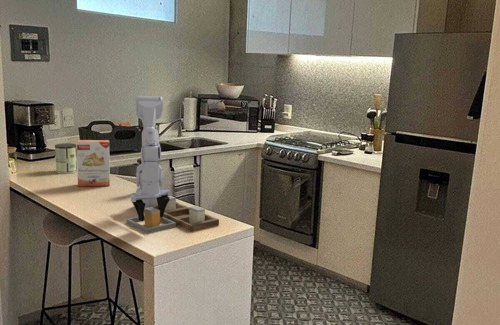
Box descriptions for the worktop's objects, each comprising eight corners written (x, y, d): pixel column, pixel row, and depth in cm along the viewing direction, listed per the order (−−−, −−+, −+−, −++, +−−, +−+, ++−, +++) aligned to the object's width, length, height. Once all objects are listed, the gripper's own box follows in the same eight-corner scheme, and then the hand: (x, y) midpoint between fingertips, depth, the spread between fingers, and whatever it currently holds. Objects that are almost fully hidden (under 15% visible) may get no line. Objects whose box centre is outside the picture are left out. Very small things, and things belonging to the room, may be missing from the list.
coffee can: (61, 169, 254) (60, 142, 251) (80, 170, 253) (79, 143, 250) (52, 173, 244) (50, 145, 241) (71, 174, 243) (70, 146, 240)
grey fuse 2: (189, 223, 170) (189, 207, 169) (196, 221, 172) (196, 205, 171) (197, 227, 166) (197, 210, 165) (204, 225, 168) (204, 208, 167)
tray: (126, 225, 168) (126, 219, 168) (155, 219, 176) (155, 213, 175) (146, 235, 158) (146, 229, 158) (176, 228, 166) (176, 222, 166)
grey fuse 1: (161, 211, 183) (161, 196, 182) (168, 210, 185) (168, 194, 184) (169, 214, 179) (169, 199, 178) (175, 213, 181) (175, 197, 180)
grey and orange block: (144, 224, 167) (144, 208, 166) (152, 223, 169) (152, 206, 168) (152, 228, 164) (152, 211, 163) (159, 226, 166) (159, 210, 165)
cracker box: (77, 187, 217) (76, 141, 213) (78, 184, 223) (77, 139, 219) (110, 186, 221) (109, 141, 217) (110, 183, 227) (109, 139, 223)
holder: (148, 213, 182) (147, 206, 181) (174, 208, 190) (174, 201, 189) (191, 233, 162) (191, 225, 161) (219, 227, 170) (219, 219, 169)
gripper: (137, 185, 156) (138, 225, 159) (175, 180, 166) (175, 217, 168) (127, 181, 161) (127, 220, 164) (164, 176, 171) (164, 212, 174)
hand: (151, 218), depth 166 cm, fingers open, 7 cm apart
